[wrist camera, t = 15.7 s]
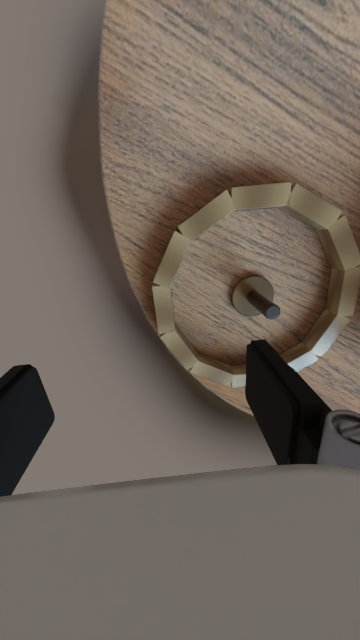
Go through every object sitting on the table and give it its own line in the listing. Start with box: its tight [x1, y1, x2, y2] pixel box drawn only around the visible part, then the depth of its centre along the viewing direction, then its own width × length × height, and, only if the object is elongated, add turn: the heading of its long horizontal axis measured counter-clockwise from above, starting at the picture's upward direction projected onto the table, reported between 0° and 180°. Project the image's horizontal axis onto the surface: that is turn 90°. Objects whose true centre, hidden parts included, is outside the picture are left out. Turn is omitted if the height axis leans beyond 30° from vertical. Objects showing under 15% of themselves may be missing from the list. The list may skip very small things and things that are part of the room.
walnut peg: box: [231, 275, 280, 319], centre depth 20 cm, size 4×4×5 cm
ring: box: [152, 182, 360, 387], centre depth 21 cm, size 19×19×2 cm
